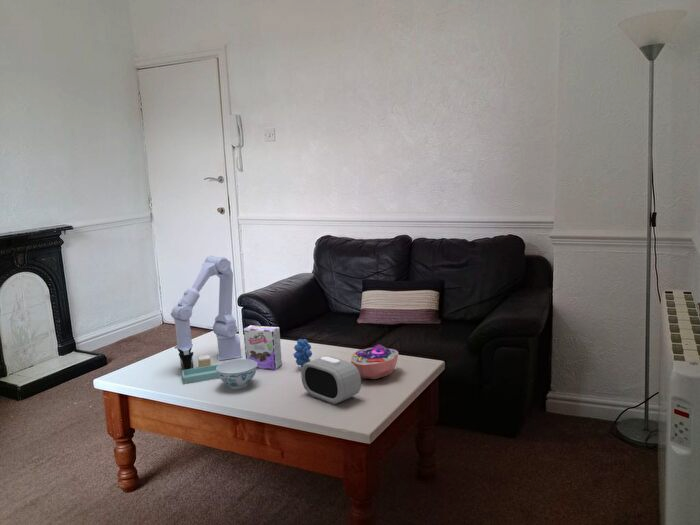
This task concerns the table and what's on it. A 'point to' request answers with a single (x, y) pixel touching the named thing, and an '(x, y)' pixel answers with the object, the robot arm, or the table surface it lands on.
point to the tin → (183, 365)
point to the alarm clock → (331, 379)
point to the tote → (199, 374)
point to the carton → (204, 361)
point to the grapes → (302, 352)
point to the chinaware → (237, 372)
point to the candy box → (263, 346)
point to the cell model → (375, 361)
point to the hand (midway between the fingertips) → (187, 366)
